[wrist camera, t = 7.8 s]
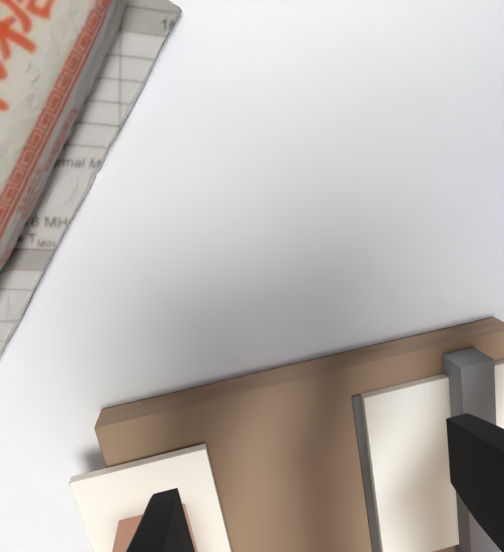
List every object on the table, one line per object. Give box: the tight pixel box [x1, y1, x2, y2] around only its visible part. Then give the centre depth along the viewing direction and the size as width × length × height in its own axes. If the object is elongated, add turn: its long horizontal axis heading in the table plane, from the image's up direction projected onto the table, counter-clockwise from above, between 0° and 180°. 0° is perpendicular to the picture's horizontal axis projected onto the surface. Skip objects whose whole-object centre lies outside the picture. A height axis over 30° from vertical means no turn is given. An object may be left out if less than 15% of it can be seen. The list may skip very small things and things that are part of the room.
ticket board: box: [94, 317, 504, 552], centre depth 20 cm, size 20×13×3 cm, turn 100°
